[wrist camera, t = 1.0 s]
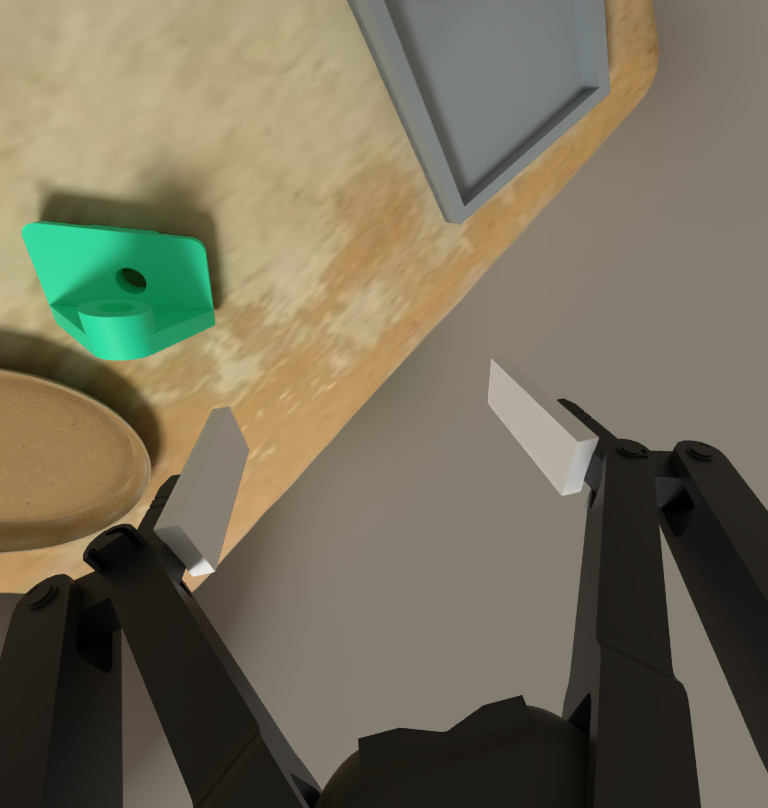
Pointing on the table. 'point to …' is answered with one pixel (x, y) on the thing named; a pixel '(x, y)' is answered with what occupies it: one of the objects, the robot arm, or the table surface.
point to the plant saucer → (63, 464)
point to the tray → (485, 83)
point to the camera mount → (122, 286)
